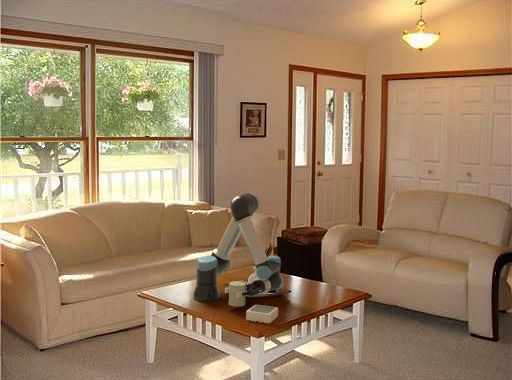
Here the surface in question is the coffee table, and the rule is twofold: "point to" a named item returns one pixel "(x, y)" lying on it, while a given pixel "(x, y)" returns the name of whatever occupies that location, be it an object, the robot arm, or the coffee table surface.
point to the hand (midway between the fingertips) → (231, 292)
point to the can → (233, 289)
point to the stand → (262, 313)
